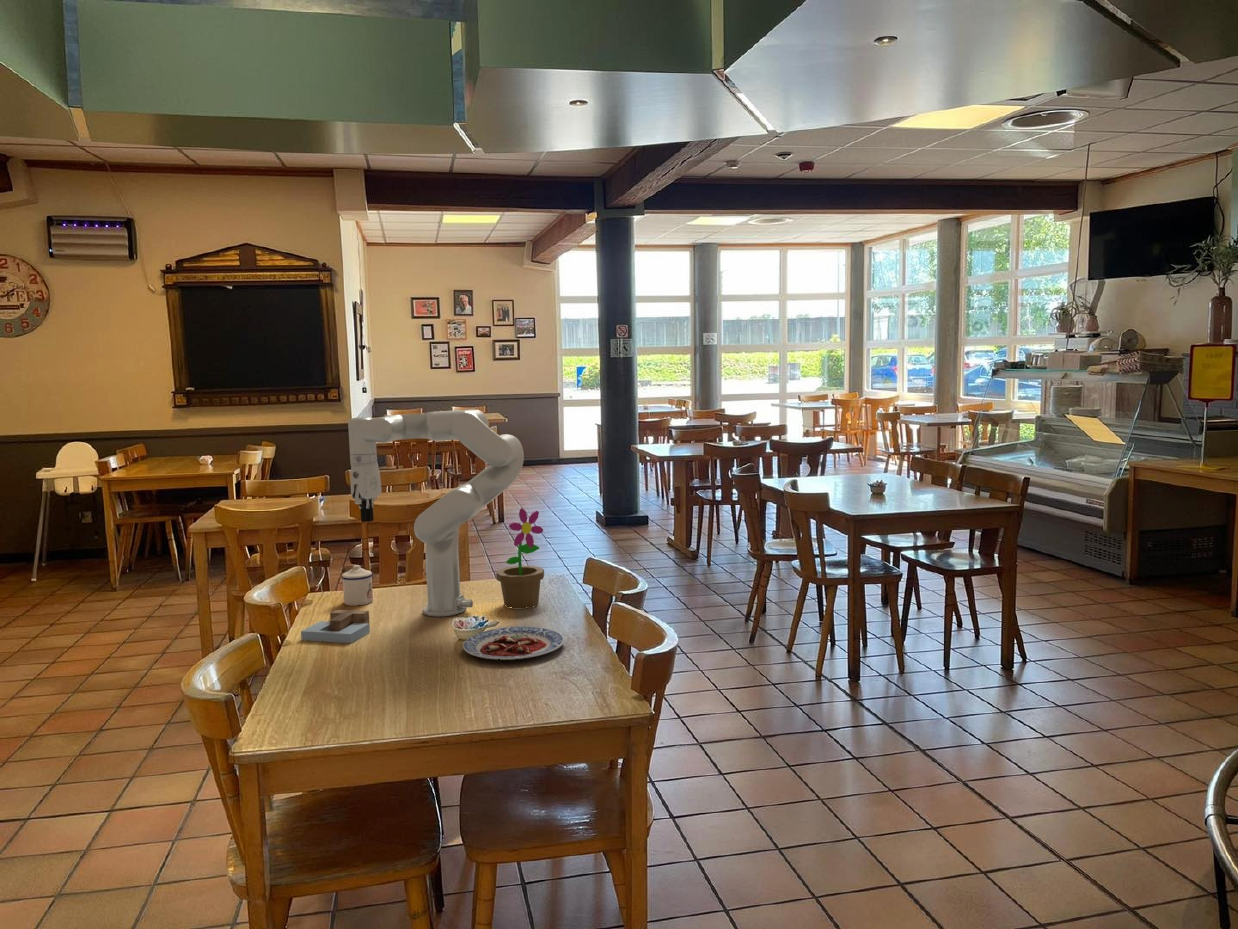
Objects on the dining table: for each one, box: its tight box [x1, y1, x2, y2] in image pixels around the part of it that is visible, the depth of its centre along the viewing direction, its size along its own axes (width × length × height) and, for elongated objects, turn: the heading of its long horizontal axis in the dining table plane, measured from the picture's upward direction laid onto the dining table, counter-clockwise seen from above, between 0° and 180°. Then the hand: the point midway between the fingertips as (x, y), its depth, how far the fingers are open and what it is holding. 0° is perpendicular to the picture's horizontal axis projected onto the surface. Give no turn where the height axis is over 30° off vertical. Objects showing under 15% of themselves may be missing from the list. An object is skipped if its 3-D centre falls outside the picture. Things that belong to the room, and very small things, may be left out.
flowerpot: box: [495, 507, 545, 609], centre depth 271 cm, size 14×14×30 cm
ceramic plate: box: [462, 626, 565, 661], centre depth 231 cm, size 26×26×3 cm
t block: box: [329, 609, 371, 632], centre depth 248 cm, size 10×10×5 cm
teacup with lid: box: [341, 564, 374, 607], centre depth 280 cm, size 12×9×12 cm
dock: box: [300, 620, 371, 644], centre depth 245 cm, size 15×10×2 cm, turn 76°
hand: (367, 521), depth 266 cm, fingers closed
